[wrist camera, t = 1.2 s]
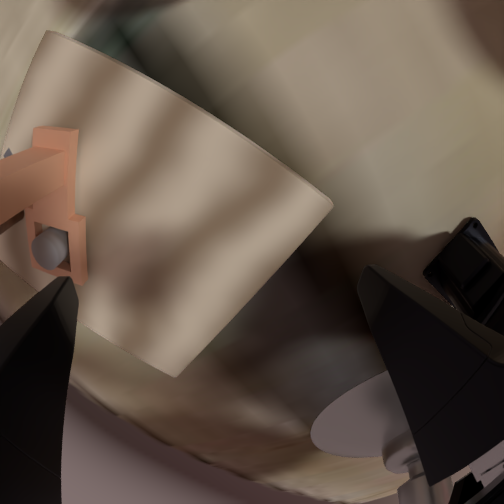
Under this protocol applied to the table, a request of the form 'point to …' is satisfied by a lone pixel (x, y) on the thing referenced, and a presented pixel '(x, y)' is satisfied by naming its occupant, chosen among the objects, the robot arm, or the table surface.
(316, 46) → the table surface
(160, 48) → the table surface
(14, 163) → the pink l-shaped piece
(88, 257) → the board
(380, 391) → the desk lamp
